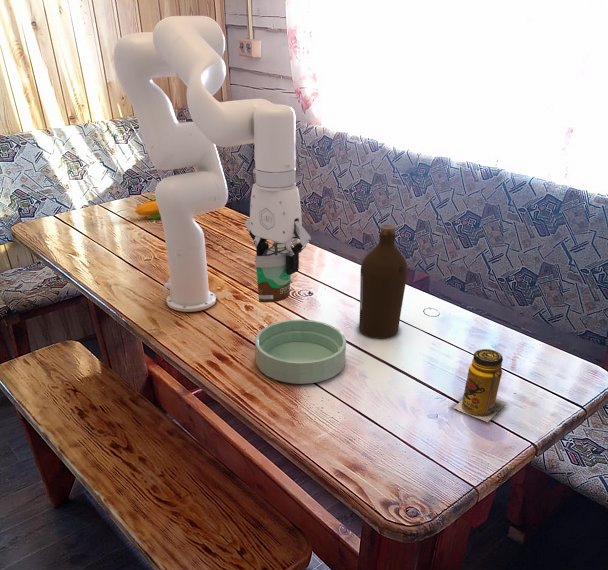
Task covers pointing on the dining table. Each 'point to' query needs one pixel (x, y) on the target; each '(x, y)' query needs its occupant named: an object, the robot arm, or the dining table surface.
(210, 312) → the dining table surface
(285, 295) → the food container
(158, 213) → the corn
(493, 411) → the condiment
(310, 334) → the bowl
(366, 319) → the olive oil
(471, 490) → the dining table surface
